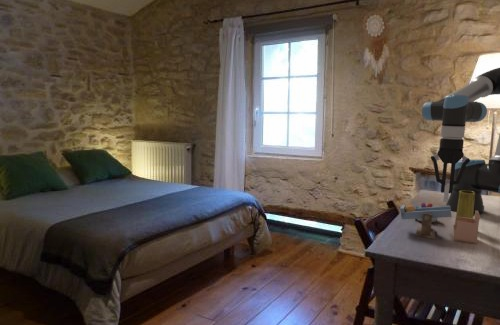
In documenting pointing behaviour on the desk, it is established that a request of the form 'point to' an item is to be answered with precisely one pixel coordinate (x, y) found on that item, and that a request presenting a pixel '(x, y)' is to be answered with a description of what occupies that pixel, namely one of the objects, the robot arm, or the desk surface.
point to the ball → (409, 208)
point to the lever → (418, 213)
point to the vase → (465, 204)
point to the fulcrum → (426, 227)
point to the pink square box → (466, 229)
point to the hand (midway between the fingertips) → (445, 201)
